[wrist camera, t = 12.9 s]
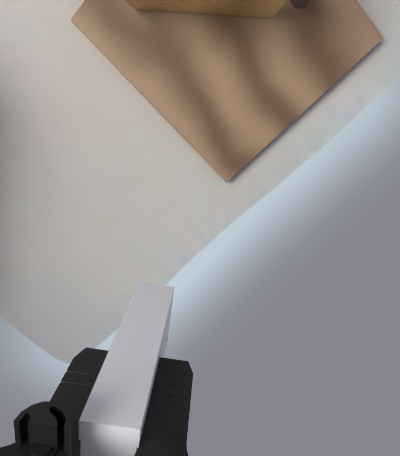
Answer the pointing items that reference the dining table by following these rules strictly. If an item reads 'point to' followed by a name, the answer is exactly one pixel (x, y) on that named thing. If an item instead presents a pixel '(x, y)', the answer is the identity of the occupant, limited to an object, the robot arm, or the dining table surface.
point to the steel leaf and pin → (300, 3)
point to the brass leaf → (213, 7)
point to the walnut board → (230, 67)
